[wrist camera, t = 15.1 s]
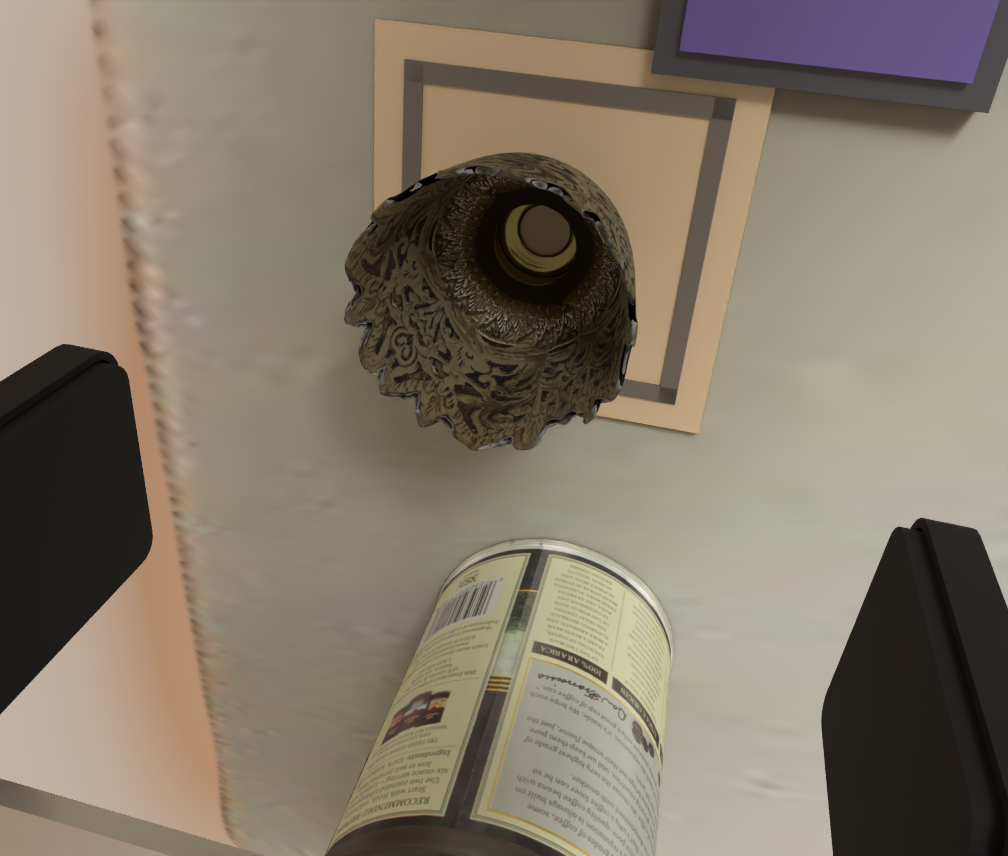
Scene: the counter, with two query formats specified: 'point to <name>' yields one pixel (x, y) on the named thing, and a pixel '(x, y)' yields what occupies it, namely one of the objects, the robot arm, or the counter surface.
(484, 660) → the coffee can
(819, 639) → the counter surface
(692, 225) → the print card
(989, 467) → the counter surface
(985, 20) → the ink pad
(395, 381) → the cup
